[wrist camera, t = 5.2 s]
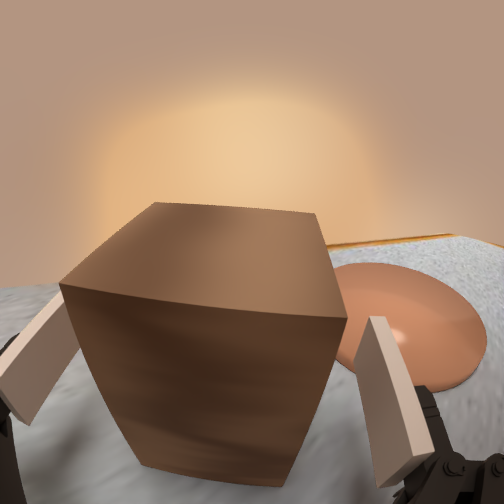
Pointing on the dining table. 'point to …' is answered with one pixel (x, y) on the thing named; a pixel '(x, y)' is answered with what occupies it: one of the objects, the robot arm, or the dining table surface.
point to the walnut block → (210, 336)
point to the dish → (413, 322)
